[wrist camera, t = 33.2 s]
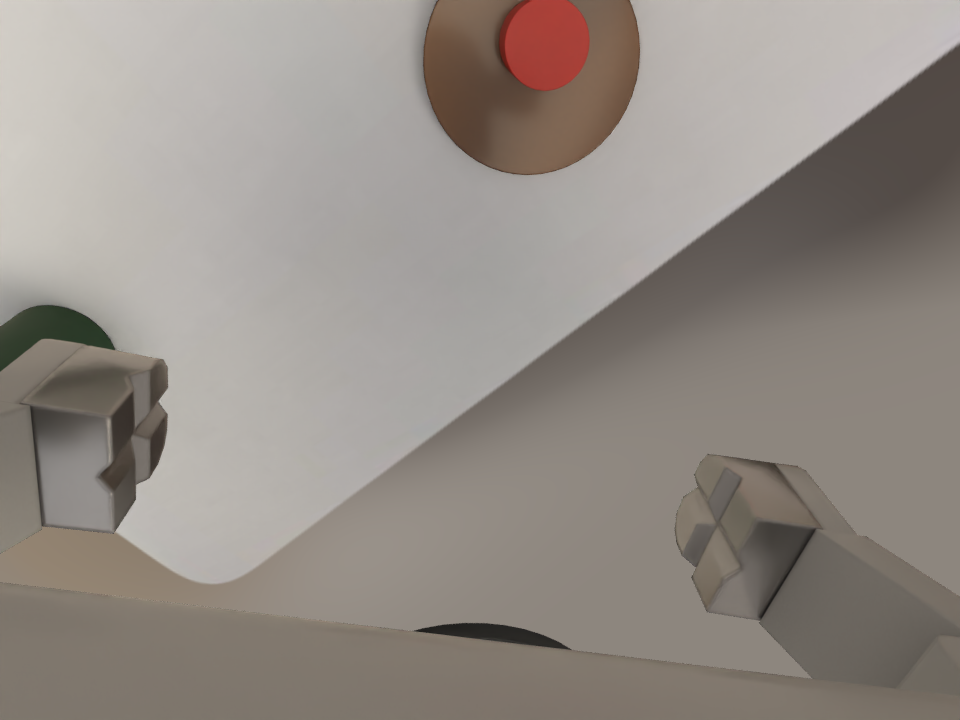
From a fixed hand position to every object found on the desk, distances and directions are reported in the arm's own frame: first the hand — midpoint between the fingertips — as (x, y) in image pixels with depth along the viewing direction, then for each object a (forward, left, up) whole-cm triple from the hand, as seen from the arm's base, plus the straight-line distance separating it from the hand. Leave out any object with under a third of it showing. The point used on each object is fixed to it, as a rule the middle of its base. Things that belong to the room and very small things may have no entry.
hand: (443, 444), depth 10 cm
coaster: (-3, -5, -28) cm, 29 cm away
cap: (-3, -6, -28) cm, 29 cm away
